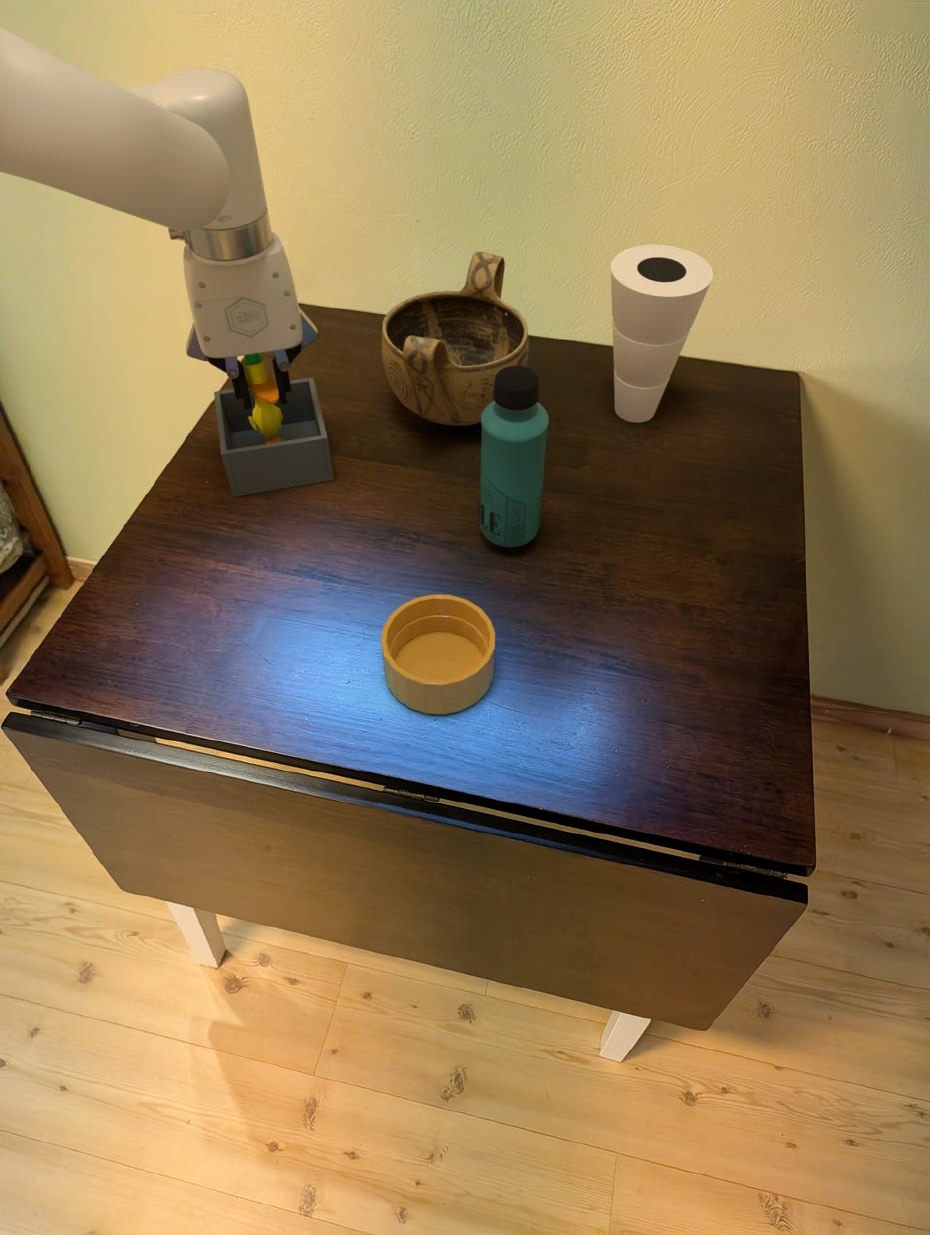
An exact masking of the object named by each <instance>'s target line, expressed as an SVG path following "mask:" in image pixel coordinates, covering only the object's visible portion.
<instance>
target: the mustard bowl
mask: <svg viewBox="0 0 930 1235" xmlns="http://www.w3.org/2000/svg"><path fill="white" fill-rule="evenodd" d="M380 646H381V656H382V661H383V663H382V664H383V670H384V671H383V672H384V676H385V681H386V684H387V687H388V689H389V690H390V692H391V693H392V694H393V696H394V697H395V699H397V700H398V701H399V702H401V703H402V704H404V705H405V706H406V707H408V709H411V710H414V711H417V712H419V713H422V714H423V713H424V714H427V715H449V714H453V713H458V712H462V711H464V710H466V709H467V708H469V707H471V706H473V705H475V704H476V703H478V702H479V701H480V699H482V697H483V696H484V695H485V694H487V692H488V691H489V689H490V686H491V684H492V682H493V680H494V673H495V672H494V670H495V655H496V654H495V652H496V631H495V628H494V625H493V622H492V620H491V618H490V617H489V616H488V615H487V613H486V612H485V611H484V610H483V609H482V608H481V607H479V606H478V605H476V604H475V603H473V602H471V600H468V599H466V598H462V597H460V596H456V595H453V594H440V593H439V594H437V593H435V594H434V593H433V594H429V595H423V596H418V597H415V598H413V599H411V600H408V601H407V602H404V603H403V604H401V605H400V606H399V607H398V608H396V609H395V610H394V611H393V612H392V613H391V614H390V615H389V616H388V618H387V619H386V622H385V624H384V625H383V627H382V631H381V638H380Z"/></svg>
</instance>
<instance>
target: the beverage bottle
mask: <svg viewBox="0 0 930 1235" xmlns="http://www.w3.org/2000/svg"><path fill="white" fill-rule="evenodd" d="M493 399H494V401H493V402H491V403H490V404H489V405H488V406H487V407H486V408H485V409H484V410H483V413H482V415H481V423H480V424H481V439H480V440H481V441H480V443H481V444H480V447H479V457H480V460H479V462H478V464H479V465H480V484H479V486H480V487H479V495H480V496H479V506H478V524H479V529H480V531H481V533H482V534H483V536H484V537H485V538H486V539H487V541H489V542H490V543H492V544H494V545H497V546H499V547H504V548H517V547H521V546H524V545H527V544H528V543H531V541H533V540H534V538H535V537H536V536H537V533H539V531H540V530H541V528H540V526H541V525H542V523H541V520H542V514H543V506H544V504H543V503H544V501H543V495H544V491H545V490H544V489H545V486H544V482H545V479H544V478H545V470H546V469H545V459H546V447H547V438H548V428H549V425H550V424H549V423H550V417H549V414H548V411H547V410H546V408H545V407H544V406H542V404H541V403H540V402H539V399H540V380H539V376H538V373H536V371H534V370H533V369H531V368H529V367H528V366H527V367H524V366H509V367H505V368H503V369H501V370H500V371H499V372H498V373H497V374H496V376H495V381H494V388H493Z"/></svg>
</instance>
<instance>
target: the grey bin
mask: <svg viewBox="0 0 930 1235" xmlns="http://www.w3.org/2000/svg"><path fill="white" fill-rule="evenodd" d="M275 383H276V385H277V382H275ZM315 383H316V382H315V379H314V377H305V378H300V379H291V380H290V384H291V389H292V392H285V393H286V398H287V404H283V403H281V402H280V397H279V398H278V400H277V402H276V403H275V404H273V405H275V406H276V407H278V408H280V410H281V413H282V416H283V420H282V419H281V427H280V429H279V430H278V432H277V437H278V438H281V439H282V440H283V441H282V442H276V443H269V444H265V441H266V438H265V435H263V434H262V433H260V432H259V431H258V430H256V429H254V428H253V427H252V425H251V424H250V421H249V416H251V417H252V418H253V412H252V411H253V409H254V408H255V399H254V397H253V394H252V392H251V390H250V389H249V393H250V399H251V405H252V408H250V410H245V406H244V402H243V399H237V400H236V396H235V392H234V388H231V389H223V390H217V391H214V392H213V395H214V403H215V412H216V421H217V430H218V437H219V438H218V439H219V440H218V441H219V446H220V447H219V448H220V449H219V450H220V455H221V459H222V462H223V466H224V470H225V473H226V477H227V481H228V483H229V488H230V491H231V495H232V497H234V498H236V497H241V496H247V495H248V496H249V495H253V494H258V493H259V494H260V493H265V492H271V491H277V490H283V489H289V488H295V487H296V488H297V487H301V486H307V485H313V484H319V483H326V482H332V481H335V476H334V469H333V464H332V456H331V450H330V444H329V438H328V432H327V429H326V425H325V421H324V417H323V413H322V412H323V411H322V408H321V404H320V400H319V396H318V392H317V388H316V384H315ZM248 388H249V387H248ZM273 438H274V436H269V439H270V441H273V440H272V439H273Z"/></svg>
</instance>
